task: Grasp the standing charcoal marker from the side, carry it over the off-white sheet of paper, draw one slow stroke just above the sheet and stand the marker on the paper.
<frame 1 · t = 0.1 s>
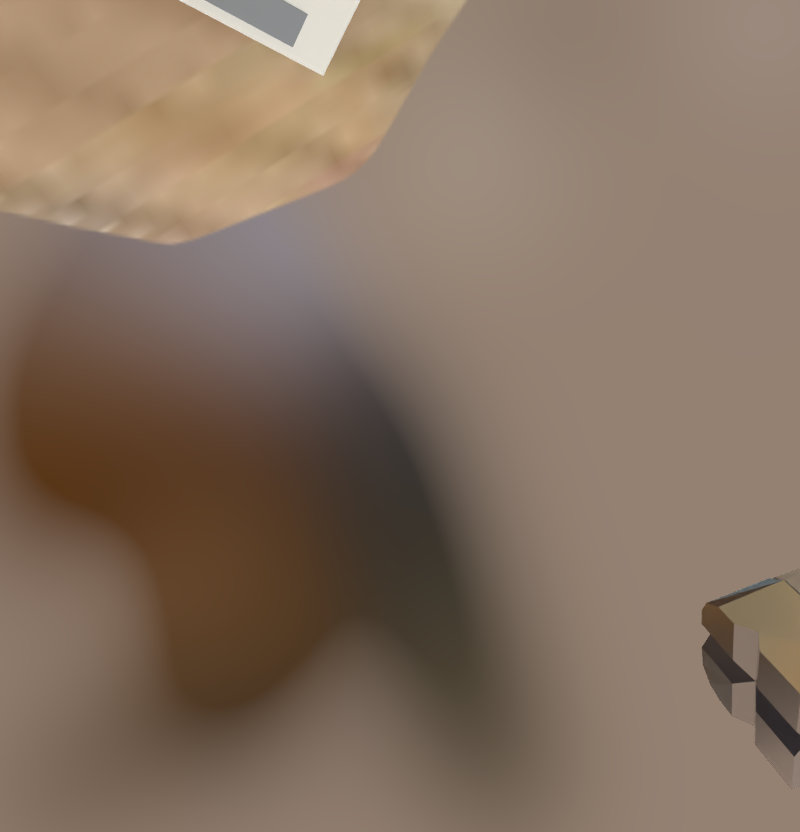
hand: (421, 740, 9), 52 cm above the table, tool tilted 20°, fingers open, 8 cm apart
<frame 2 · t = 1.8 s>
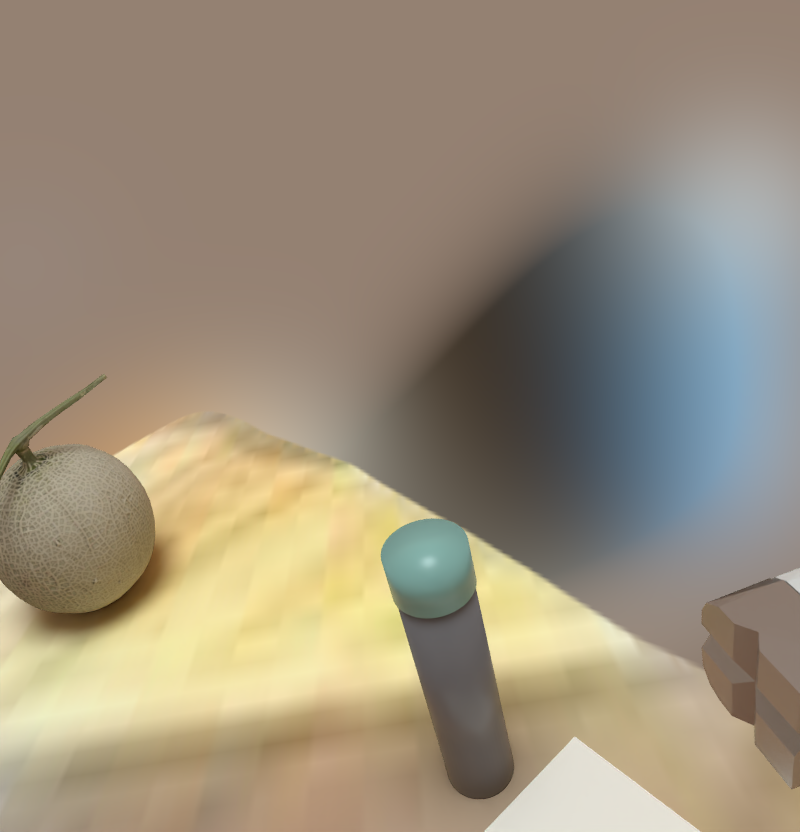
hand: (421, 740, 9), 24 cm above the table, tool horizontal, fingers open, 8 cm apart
marker: (480, 766, 34), on the table
fruit: (105, 594, 52), on the table
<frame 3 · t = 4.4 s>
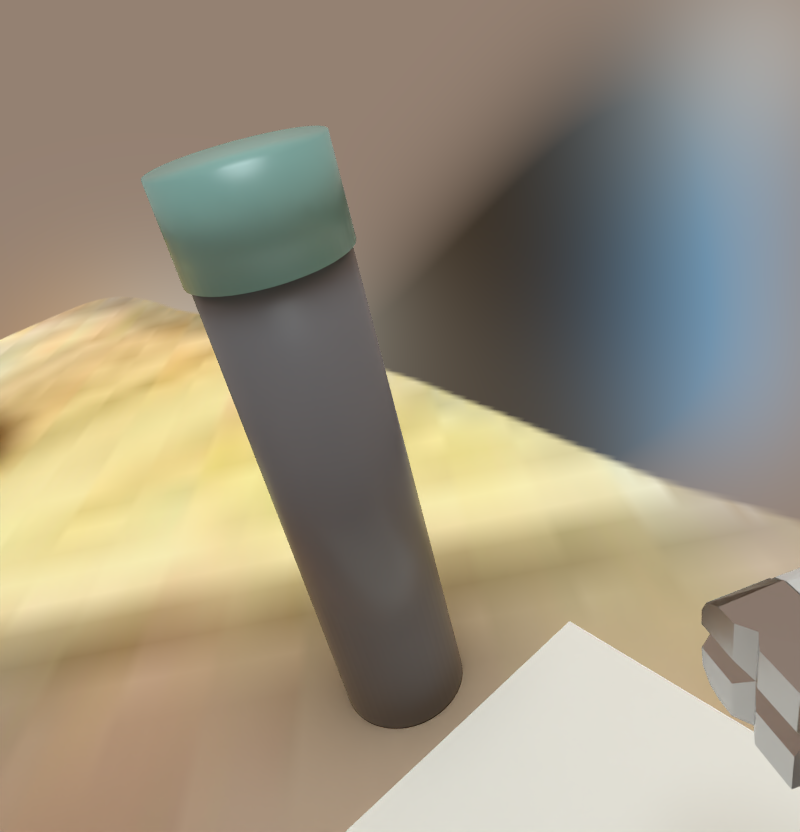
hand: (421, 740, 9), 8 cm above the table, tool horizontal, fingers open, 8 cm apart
marker: (404, 675, 20), on the table
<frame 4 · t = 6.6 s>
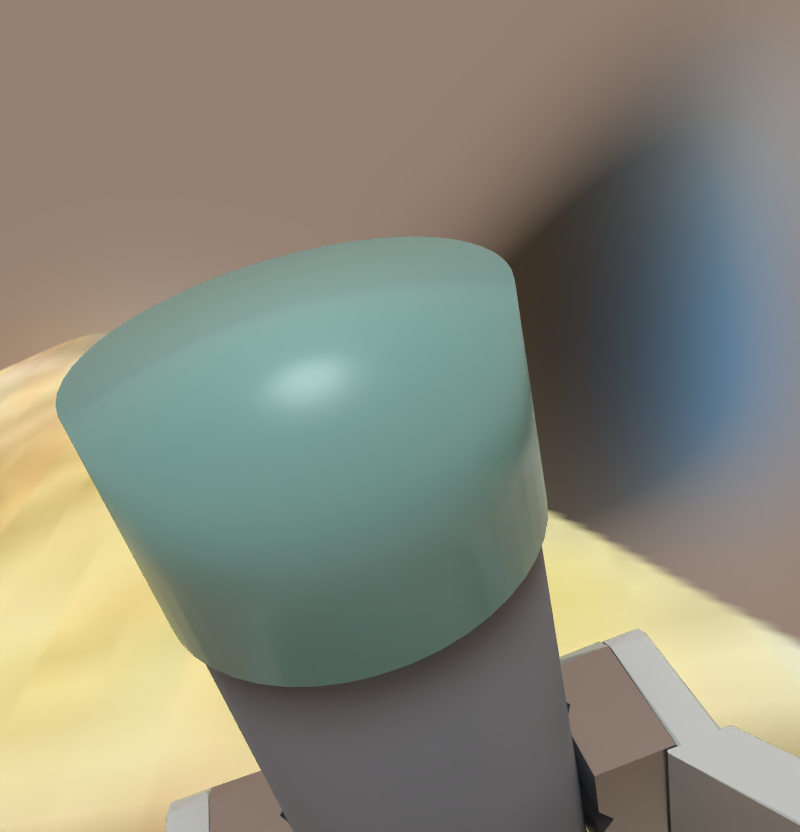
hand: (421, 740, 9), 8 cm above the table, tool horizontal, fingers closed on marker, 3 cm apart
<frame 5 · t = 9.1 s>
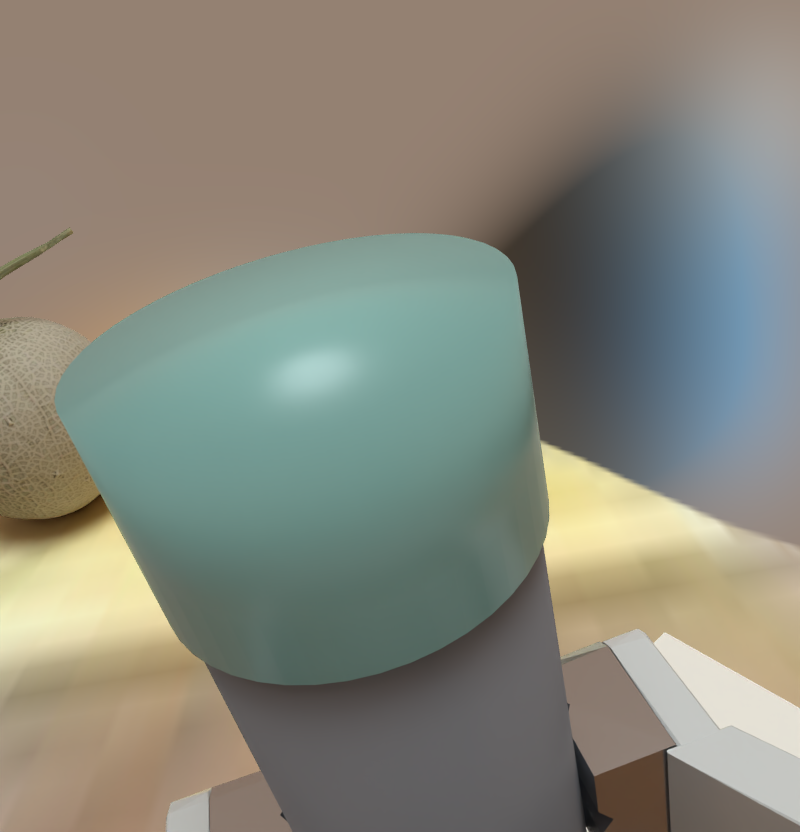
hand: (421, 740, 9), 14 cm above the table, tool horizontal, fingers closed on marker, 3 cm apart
fruit: (73, 504, 44), on the table
when the fingers open (9 cm above the table, at t = 11.9 s): marker stays where it is, resting on paper.
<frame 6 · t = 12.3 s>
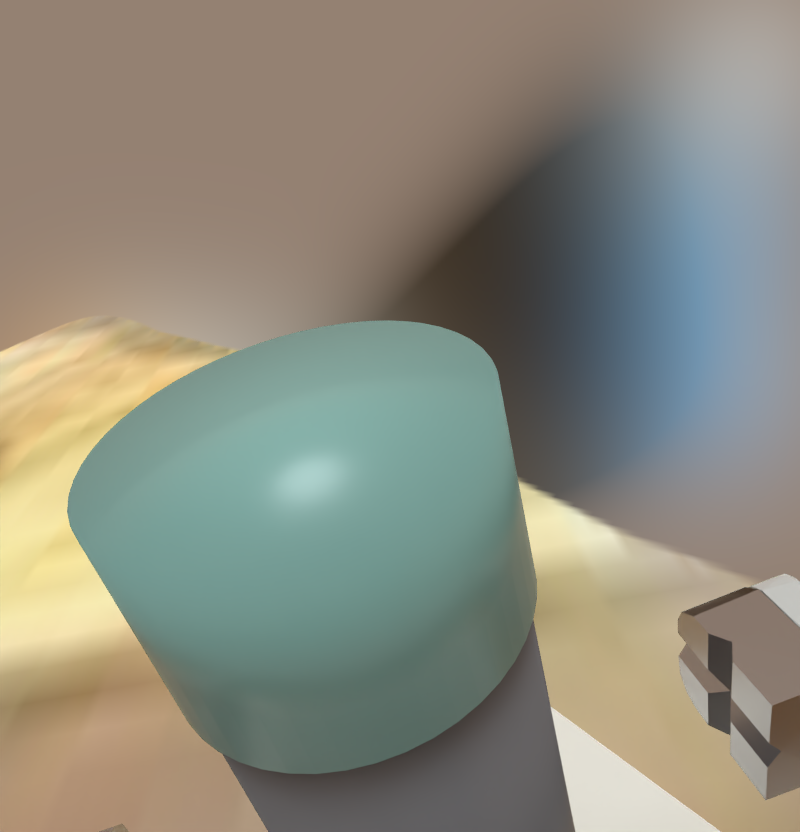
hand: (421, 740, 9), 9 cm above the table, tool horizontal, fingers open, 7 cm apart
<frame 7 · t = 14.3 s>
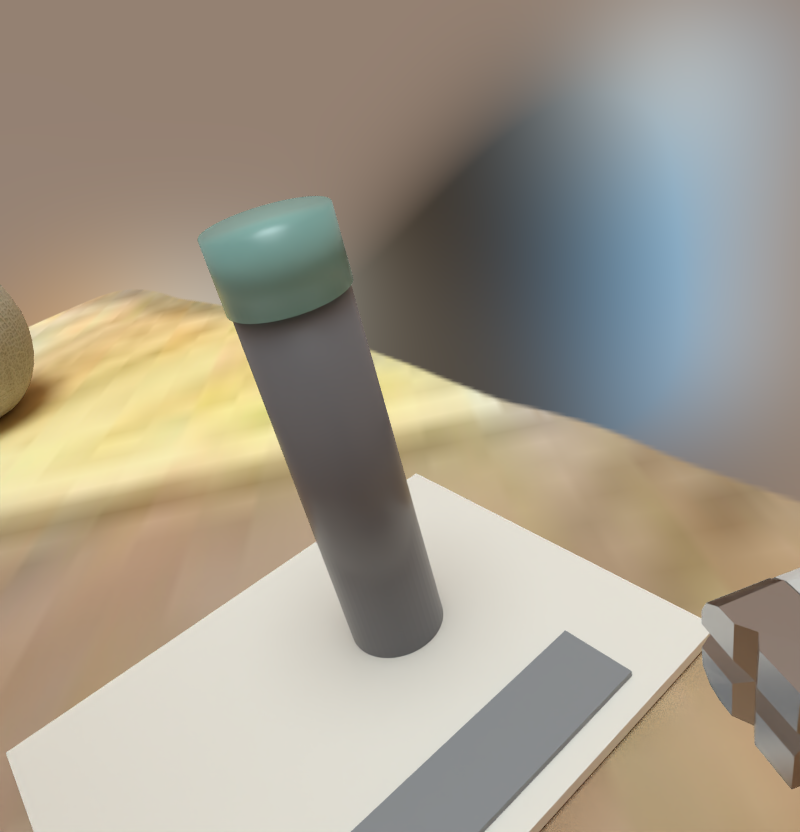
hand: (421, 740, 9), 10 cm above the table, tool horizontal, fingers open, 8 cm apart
paper: (348, 700, 23), on the table
marker: (397, 620, 24), resting on paper
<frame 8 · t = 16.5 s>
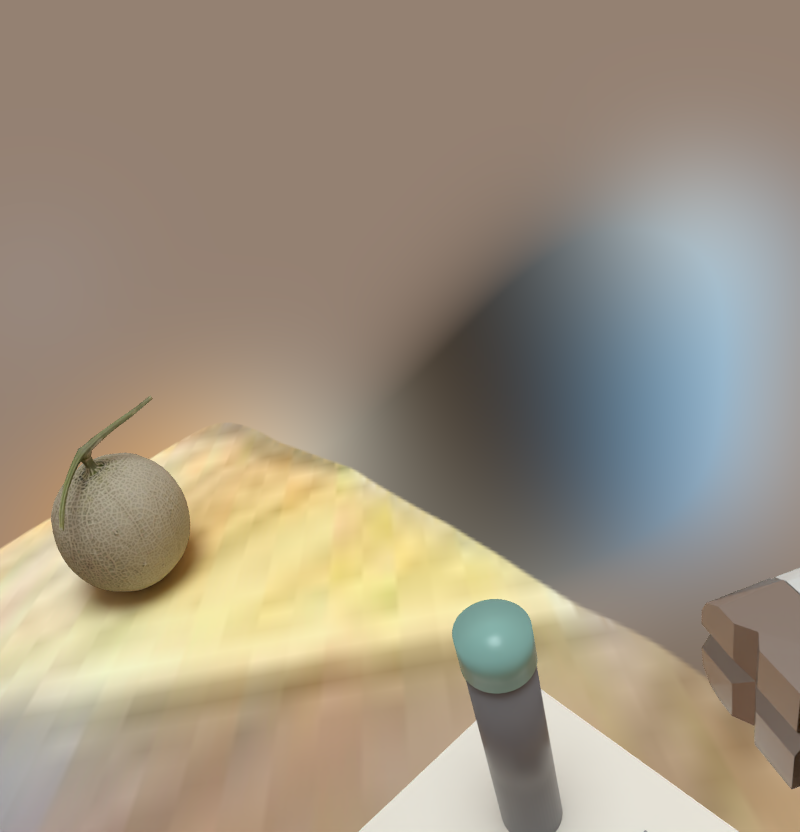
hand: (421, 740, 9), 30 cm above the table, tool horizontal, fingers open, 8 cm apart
marker: (531, 810, 38), resting on paper
fruit: (148, 577, 63), on the table
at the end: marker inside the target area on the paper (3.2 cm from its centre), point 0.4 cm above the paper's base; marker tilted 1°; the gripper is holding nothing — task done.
